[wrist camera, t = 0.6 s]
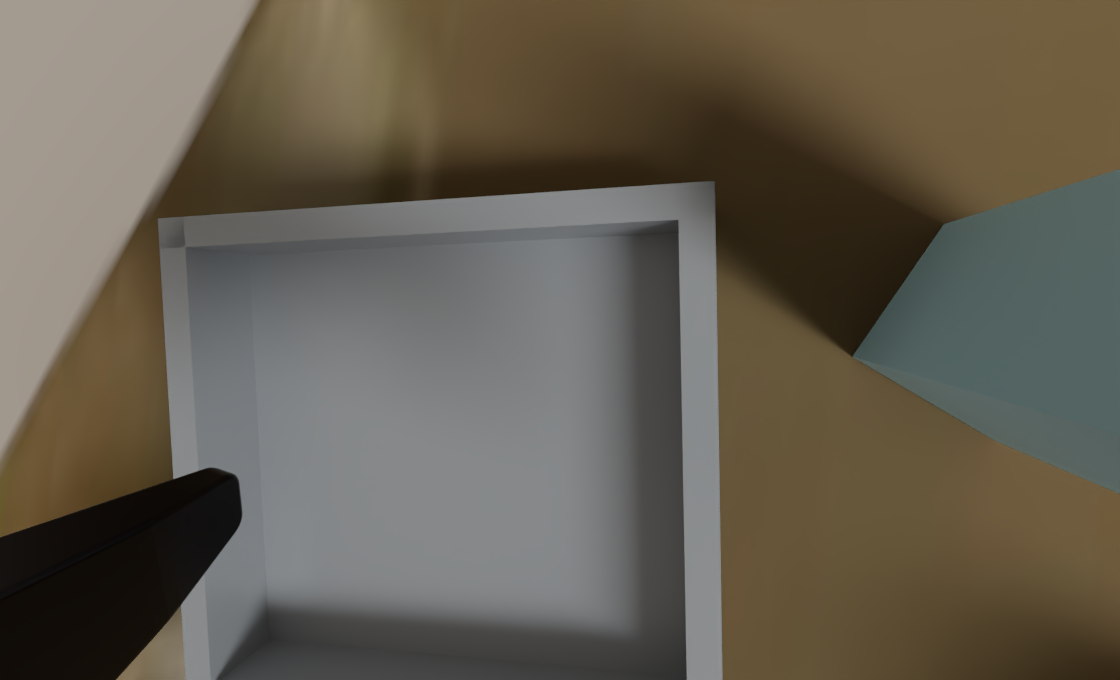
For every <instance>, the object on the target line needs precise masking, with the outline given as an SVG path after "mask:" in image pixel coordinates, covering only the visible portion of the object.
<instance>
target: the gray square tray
mask: <svg viewBox="0 0 1120 680" xmlns="http://www.w3.org/2000/svg"><path fill="white" fill-rule="evenodd" d="M158 232H159V249H160V265H161V282H162V298H163V314H164V331H165V347H166V364H167V380H168V397H169V413H170V430H171V446H172V462H173V479H175V478H178V477H181V476H184V475H187V474H190V473H193V472H196V471H199V470H202V469H206V468H210V467H213V468H218V469H221V470H224V471H227V472H230V473H233V474H235V475H236V476H237V477H238V479H239V483H240V492H241V502H242V511H243V516H242V520H241V523H240V526H239V527H238V529H237V531H236V532H235V534H234V535H233V536H232V538H231V539H230V540H229V542H228V543H227V544H226V546H225V547H224V548H223V550H222V551H221V552H220V554H219V555H218V556H217V558H216V559H215V560H214V562H213V563H212V564H211V566H210V567H209V568H208V570H207V571H206V572H205V574H204V575H203V576H202V578H201V579H200V580H199V582H198V583H197V584H196V586H195V587H194V588H193V590H192V591H191V592H190V594H189V595H188V596H187V598H186V599H185V600H184V602H183V603H182V604H181V610H182V627H183V643H184V660H185V676H186V680H722V619H721V553H720V486H719V420H718V354H717V288H716V222H715V181H704V182H690V183H675V184H660V185H645V186H630V187H615V188H601V189H586V190H571V191H556V192H541V193H527V194H512V195H497V196H482V197H467V198H452V199H438V200H423V201H408V202H393V203H378V204H363V205H349V206H334V207H319V208H304V209H289V210H274V211H260V212H245V213H230V214H215V215H200V216H185V217H171V218H158Z"/></svg>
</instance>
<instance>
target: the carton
mask: <svg viewBox="0 0 1120 680" xmlns="http://www.w3.org/2000/svg"><path fill="white" fill-rule="evenodd" d="M852 357H853V358H855V359H857V360H858V361H860V362H862V363H864V364H865V365H867V366H869V367H870V368H872V369H874V370H875V371H877V372H879V373H880V374H882V375H884V376H886V377H887V378H889V379H891V380H892V381H894V382H896V383H897V384H899V385H901V386H903V387H904V388H906V389H908V390H909V391H911V392H913V393H914V394H916V395H918V396H920V397H921V398H923V399H925V400H926V401H928V402H930V403H931V404H933V405H935V406H937V407H938V408H940V409H942V410H943V411H945V412H947V413H948V414H950V415H952V416H953V417H955V418H957V419H959V420H960V421H962V422H964V423H965V424H967V425H969V426H970V427H972V428H974V429H976V430H977V431H979V432H981V433H982V434H984V435H986V436H987V437H989V438H991V439H993V440H994V441H997V442H999V443H1001V444H1004V445H1006V446H1008V447H1011V448H1013V449H1015V450H1018V451H1020V452H1023V453H1025V454H1027V455H1030V456H1032V457H1034V458H1037V459H1039V460H1041V461H1044V462H1046V463H1048V464H1051V465H1053V466H1055V467H1058V468H1060V469H1063V470H1065V471H1067V472H1070V473H1072V474H1074V475H1077V476H1079V477H1081V478H1084V479H1086V480H1088V481H1091V482H1093V483H1095V484H1098V485H1100V486H1103V487H1105V488H1107V489H1110V490H1112V491H1114V492H1117V493H1119V494H1120V169H1119V170H1115V171H1112V172H1109V173H1106V174H1103V175H1099V176H1096V177H1093V178H1090V179H1087V180H1083V181H1080V182H1077V183H1074V184H1071V185H1067V186H1064V187H1061V188H1058V189H1055V190H1051V191H1048V192H1045V193H1042V194H1039V195H1035V196H1032V197H1029V198H1026V199H1023V200H1019V201H1016V202H1013V203H1010V204H1007V205H1003V206H1000V207H997V208H994V209H991V210H987V211H984V212H981V213H978V214H975V215H971V216H968V217H965V218H962V219H959V220H955V221H952V222H949V223H946V224H944V225H943V226H942V228H941V229H940V230H939V232H938V233H937V235H936V236H935V238H934V239H933V241H932V242H931V243H930V245H929V246H928V248H927V249H926V251H925V252H924V254H923V255H922V256H921V258H920V259H919V261H918V262H917V264H916V265H915V267H914V268H913V270H912V271H911V272H910V274H909V275H908V277H907V278H906V280H905V281H904V283H903V284H902V285H901V287H900V288H899V290H898V291H897V293H896V294H895V296H894V297H893V298H892V300H891V301H890V303H889V304H888V306H887V307H886V309H885V310H884V311H883V313H882V314H881V316H880V317H879V319H878V320H877V322H876V323H875V325H874V326H873V327H872V329H871V330H870V332H869V333H868V335H867V336H866V338H865V339H864V340H863V342H862V343H861V345H860V346H859V348H858V349H857V351H856V352H855V353H854V355H853V356H852Z"/></svg>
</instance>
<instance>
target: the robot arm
mask: <svg viewBox="0 0 1120 680" xmlns="http://www.w3.org/2000/svg"><path fill="white" fill-rule="evenodd" d="M242 516H243V511H242V502H241V492H240V483H239V479H238V477H237V476H236V475H235V474H233V473H230V472H227V471H224V470H221V469H218V468H213V467H210V468H206V469H202V470H199V471H196V472H193V473H190V474H187V475H184V476H181V477H178V478H175V479H172V480H169V481H167V482H164V483H161V484H158V485H155V486H152V487H149V488H146V489H143V490H140V491H137V492H134V493H131V494H128V495H125V496H122V497H119V498H116V499H113V500H110V501H107V502H104V503H101V504H98V505H95V506H92V507H89V508H86V509H83V510H80V511H77V512H74V513H71V514H68V515H65V516H63V517H60V518H57V519H54V520H51V521H48V522H45V523H42V524H39V525H36V526H33V527H30V528H27V529H24V530H21V531H18V532H15V533H12V534H9V535H6V536H3V537H0V680H116V679H117V678H118V677H119V676H120V675H121V673H122V672H123V671H124V670H125V669H126V668H127V667H128V666H129V665H130V663H131V662H132V661H133V660H134V659H135V658H136V657H137V656H138V655H139V653H140V652H141V651H142V650H143V649H144V648H145V647H146V646H147V645H148V643H149V642H150V641H151V640H152V639H153V638H154V637H155V636H156V635H157V633H158V632H159V631H160V630H161V629H162V628H163V626H164V625H165V624H166V623H167V622H168V621H169V619H170V618H171V617H172V616H173V614H174V613H175V612H176V611H177V609H178V608H179V607H180V606H181V604H182V603H183V602H184V600H185V599H186V598H187V596H188V595H189V594H190V592H191V591H192V590H193V588H194V587H195V586H196V584H197V583H198V582H199V580H200V579H201V578H202V576H203V575H204V574H205V572H206V571H207V570H208V568H209V567H210V566H211V564H212V563H213V562H214V560H215V559H216V558H217V556H218V555H219V554H220V552H221V551H222V550H223V548H224V547H225V546H226V544H227V543H228V542H229V540H230V539H231V538H232V536H233V535H234V534H235V532H236V531H237V529H238V527H239V526H240V523H241V520H242Z"/></svg>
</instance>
